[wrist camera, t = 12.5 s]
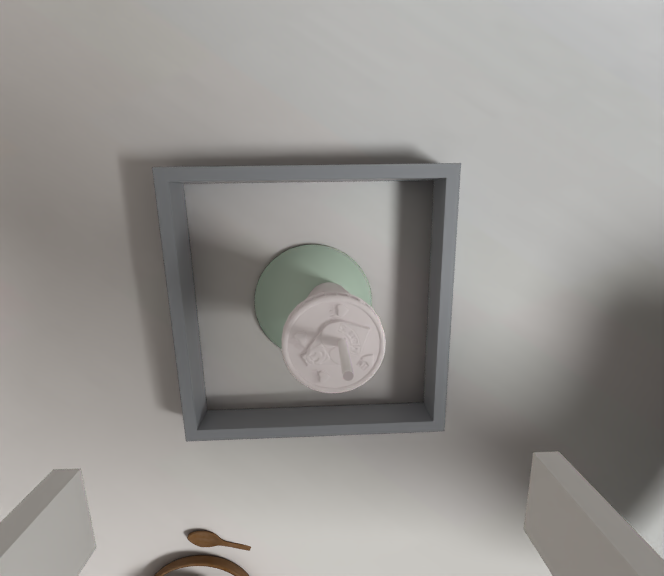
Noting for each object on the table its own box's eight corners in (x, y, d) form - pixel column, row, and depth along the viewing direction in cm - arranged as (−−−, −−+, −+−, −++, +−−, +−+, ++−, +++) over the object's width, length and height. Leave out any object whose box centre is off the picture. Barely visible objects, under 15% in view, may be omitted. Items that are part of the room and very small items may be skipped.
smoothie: (378, 318, 32) (425, 404, 18) (313, 350, 32) (310, 459, 18) (345, 252, 30) (368, 293, 17) (277, 288, 31) (246, 356, 17)
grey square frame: (446, 167, 29) (460, 163, 26) (433, 411, 34) (444, 431, 31) (169, 170, 28) (152, 167, 26) (197, 420, 34) (186, 441, 31)
